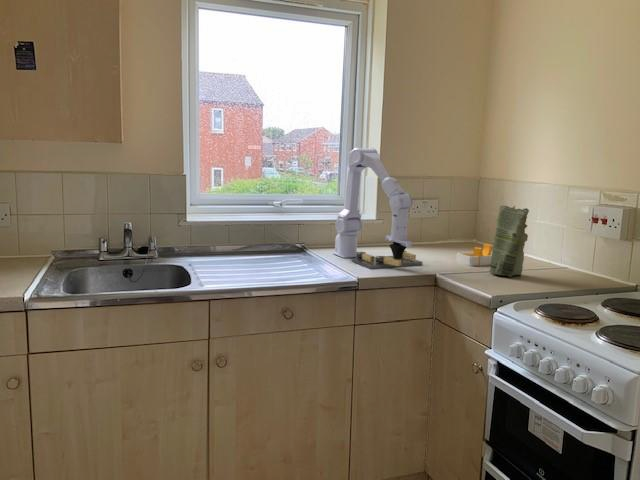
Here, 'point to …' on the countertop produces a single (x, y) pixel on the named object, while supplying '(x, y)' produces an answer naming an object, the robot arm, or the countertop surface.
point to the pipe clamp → (479, 252)
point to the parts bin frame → (473, 259)
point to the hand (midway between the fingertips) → (397, 263)
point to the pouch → (509, 242)
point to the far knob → (408, 256)
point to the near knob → (388, 260)
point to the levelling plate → (377, 265)
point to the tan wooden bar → (365, 256)
